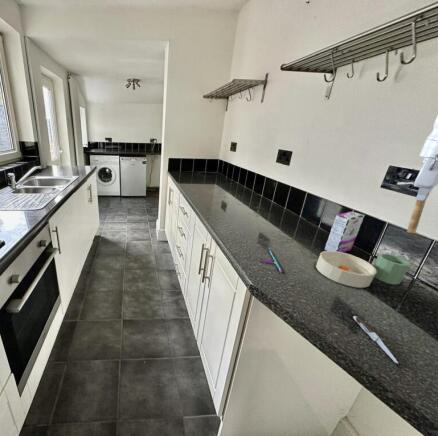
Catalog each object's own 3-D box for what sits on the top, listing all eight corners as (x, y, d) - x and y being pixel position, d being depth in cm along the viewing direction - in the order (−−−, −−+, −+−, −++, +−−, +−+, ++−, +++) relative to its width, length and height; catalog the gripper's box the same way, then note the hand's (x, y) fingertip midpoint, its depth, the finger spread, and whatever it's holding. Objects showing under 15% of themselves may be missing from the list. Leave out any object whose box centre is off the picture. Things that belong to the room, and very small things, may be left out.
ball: (350, 276, 79) (346, 275, 78) (338, 274, 82) (335, 273, 80) (350, 266, 80) (347, 266, 78) (338, 265, 83) (335, 264, 81)
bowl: (375, 279, 80) (382, 266, 78) (360, 295, 72) (367, 281, 70) (325, 259, 91) (330, 247, 89) (307, 270, 83) (312, 257, 81)
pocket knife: (351, 318, 63) (353, 312, 62) (354, 319, 63) (357, 313, 62) (394, 366, 50) (398, 360, 50) (398, 367, 50) (402, 361, 49)
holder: (402, 280, 80) (412, 261, 76) (396, 288, 76) (407, 268, 72) (373, 269, 85) (382, 251, 82) (366, 276, 81) (375, 256, 78)
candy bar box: (338, 245, 102) (351, 211, 96) (351, 250, 98) (366, 215, 92) (322, 250, 98) (335, 214, 92) (335, 255, 94) (350, 218, 88)
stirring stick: (415, 232, 72) (433, 174, 67) (415, 233, 71) (434, 175, 66) (406, 231, 74) (424, 174, 68) (406, 232, 72) (425, 174, 67)
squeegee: (257, 248, 95) (270, 250, 94) (257, 250, 96) (270, 252, 95) (267, 269, 81) (282, 271, 80) (266, 271, 82) (281, 273, 81)
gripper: (458, 154, 56) (430, 207, 62) (466, 151, 67) (442, 197, 72) (420, 151, 61) (397, 201, 66) (434, 149, 72) (413, 192, 77)
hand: (421, 199), depth 69 cm, fingers closed on stirring stick, 2 cm apart
